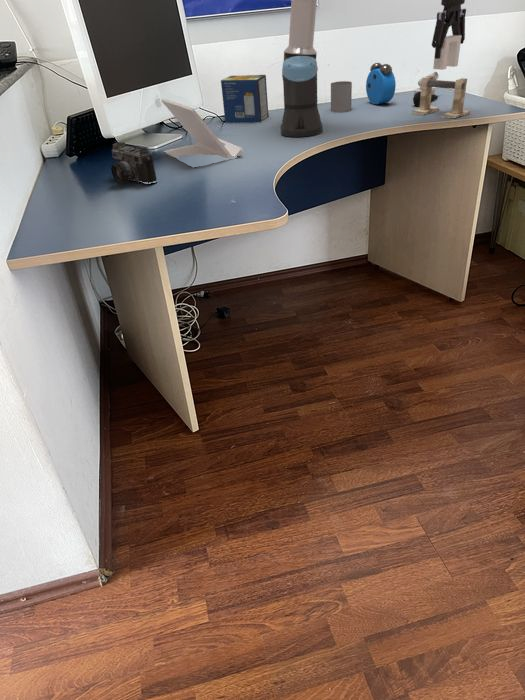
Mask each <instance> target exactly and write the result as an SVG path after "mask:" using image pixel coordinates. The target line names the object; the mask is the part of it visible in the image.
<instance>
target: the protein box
mask: <svg viewBox="0 0 525 700" xmlns="http://www.w3.org/2000/svg"><path fill="white" fill-rule="evenodd" d="M220 85H221V94H222V104H223V114H224V115H223V116H224V122H225V123H255V122H259V123H262V120H263V121H264V120H265V118H266V119H268V117H269V102H268V89H267V76H266V74H252V75H251V74H250V75H249V74H247V75H245V74H244V75H243V74H241V75H240V74H239V75H229V76H227V77H225V78H222V79H221V80H220Z"/></svg>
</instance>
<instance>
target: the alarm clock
mask: <svg viewBox="0 0 525 700" xmlns="http://www.w3.org/2000/svg"><path fill="white" fill-rule="evenodd" d="M369 70H370V72H369V73H368V74H367V78H366V83H365V91H366V95H367V99H368V100H369V102H370V103H371V104H373V105H379V104H381V105H382V104H386V103H387V104H388V105H389V104H390V102H391V101H392V99H393V98H394V96H395V93H396V85H397V84H396V77H395V75H394V72H393V68H392V66H391V65H390V64H388V63H383V64H382V63H380V62H374V63H373V64H372V65H371V66H370V69H369Z"/></svg>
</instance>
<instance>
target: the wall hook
mask: <svg viewBox="0 0 525 700" xmlns="http://www.w3.org/2000/svg"><path fill="white" fill-rule="evenodd" d="M427 76H433V80H438V79H439V76H440V75H439V73H438V72H437V71H434V72H431V73H430V74H428V75H426V76H425V77H427ZM421 85H422V78H420V79H419V80H418V81H417V86H418V87H419V88H415V89H414V90H413V96H414V95H415V94H416V93H417V92H419V91H420V92H421ZM435 91H436V88H435V87H432V94H433V95H436V93H435Z"/></svg>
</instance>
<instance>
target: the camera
mask: <svg viewBox="0 0 525 700" xmlns="http://www.w3.org/2000/svg"><path fill="white" fill-rule="evenodd" d="M111 154H112V158H113V159H115V162H114V163H113V164H112V165H111V166H110V170H111V175H112V177H113V179H114V181H116V183H120V184H123V183H126V182H128V181H131V180H135V181H139V182H140V181H142V182H148V183H149V182H153V181H156V180H157V181H158V179H157V175H156V170H155V169H156V168H155V163H154V158H153V152H152V151H148V148H147V147H141V148H137V147H136V148H135V147H133V146H129V145H126V142H124V141H122V142H121V141H118V142H114V143H113V144H112V149H111ZM130 179H131V180H130ZM139 182H138V183H139Z"/></svg>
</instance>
